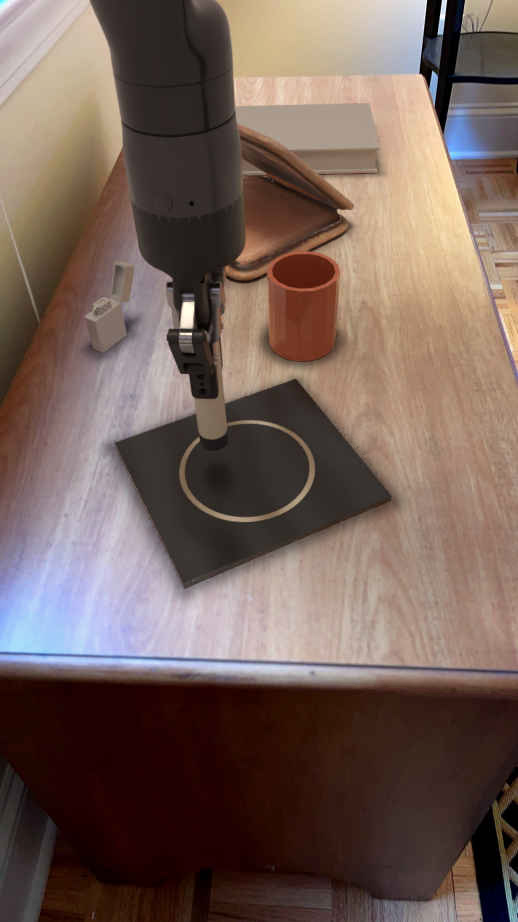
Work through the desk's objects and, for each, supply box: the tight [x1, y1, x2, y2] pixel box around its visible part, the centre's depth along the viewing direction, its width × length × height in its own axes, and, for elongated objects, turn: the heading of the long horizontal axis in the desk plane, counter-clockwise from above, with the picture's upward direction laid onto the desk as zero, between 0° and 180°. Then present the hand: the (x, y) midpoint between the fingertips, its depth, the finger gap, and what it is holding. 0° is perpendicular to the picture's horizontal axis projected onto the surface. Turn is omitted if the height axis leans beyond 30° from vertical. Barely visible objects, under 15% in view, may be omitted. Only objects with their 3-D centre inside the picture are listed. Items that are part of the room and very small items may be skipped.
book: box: [235, 102, 380, 177], centre depth 109 cm, size 18×4×24 cm
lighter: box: [84, 260, 135, 354], centre depth 76 cm, size 7×2×8 cm, turn 146°
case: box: [226, 123, 355, 281], centre depth 88 cm, size 20×21×16 cm
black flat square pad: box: [114, 378, 392, 589], centre depth 64 cm, size 20×18×1 cm
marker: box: [193, 340, 228, 451], centre depth 59 cm, size 3×3×12 cm
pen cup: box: [266, 250, 341, 362], centre depth 74 cm, size 7×7×9 cm
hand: (207, 382), depth 58 cm, fingers closed on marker, 2 cm apart
